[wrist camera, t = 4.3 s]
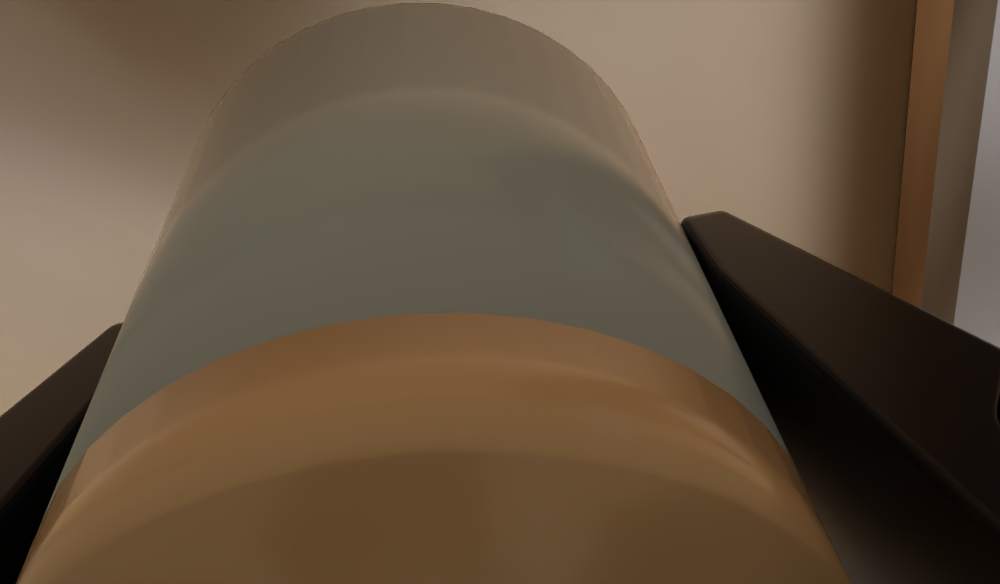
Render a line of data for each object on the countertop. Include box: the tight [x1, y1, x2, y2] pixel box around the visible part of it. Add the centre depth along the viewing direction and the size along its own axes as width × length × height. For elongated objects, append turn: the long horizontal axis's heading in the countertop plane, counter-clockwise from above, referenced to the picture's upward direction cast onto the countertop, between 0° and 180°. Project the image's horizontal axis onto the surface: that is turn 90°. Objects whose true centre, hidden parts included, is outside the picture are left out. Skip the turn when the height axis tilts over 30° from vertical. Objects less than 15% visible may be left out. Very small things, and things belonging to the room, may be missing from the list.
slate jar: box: [16, 3, 851, 584], centre depth 8 cm, size 5×5×6 cm
